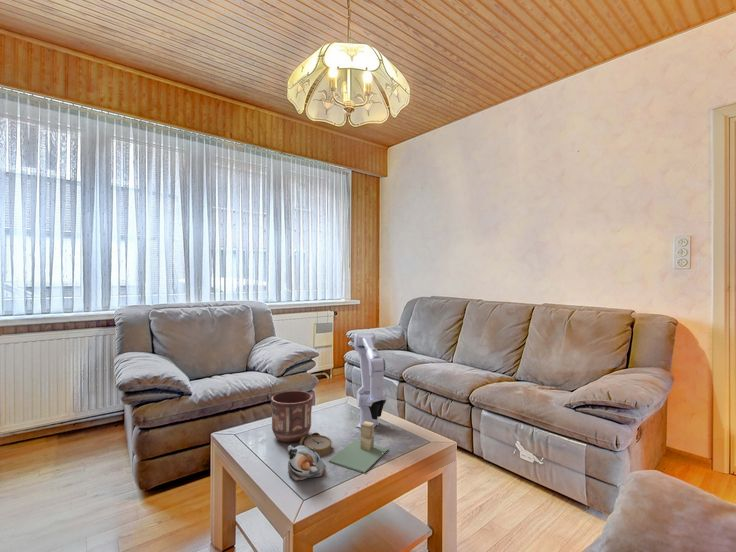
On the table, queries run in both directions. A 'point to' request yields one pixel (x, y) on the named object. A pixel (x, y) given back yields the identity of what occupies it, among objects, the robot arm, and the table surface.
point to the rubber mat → (358, 456)
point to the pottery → (291, 415)
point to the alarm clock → (317, 443)
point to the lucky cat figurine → (304, 463)
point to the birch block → (367, 436)
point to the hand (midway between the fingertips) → (376, 417)
